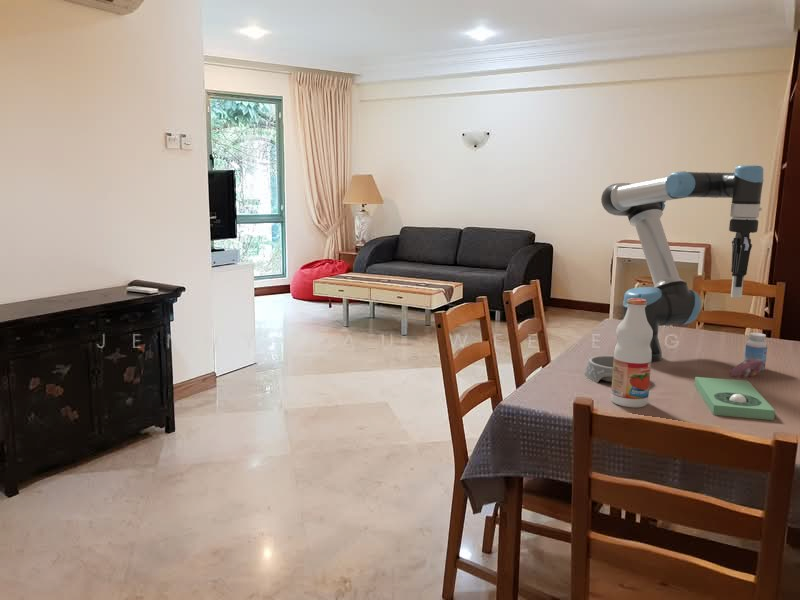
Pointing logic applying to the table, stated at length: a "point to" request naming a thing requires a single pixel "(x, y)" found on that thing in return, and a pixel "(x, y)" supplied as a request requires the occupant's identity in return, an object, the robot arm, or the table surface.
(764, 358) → the pill bottle
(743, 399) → the ball
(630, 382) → the fruit juice
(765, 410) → the mat
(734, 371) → the video game controller
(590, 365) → the dog bowl
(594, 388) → the table surface
